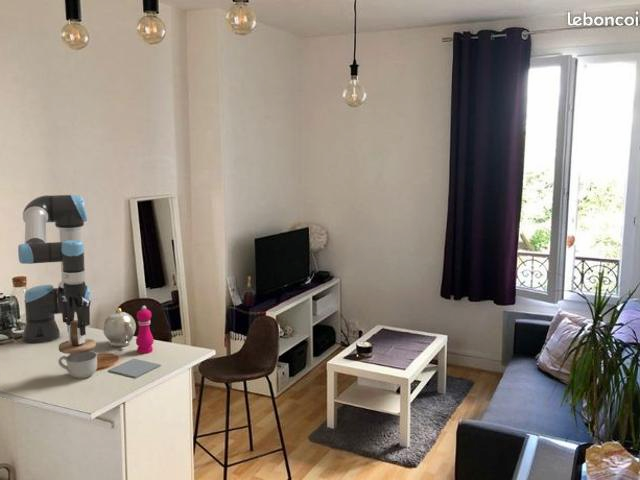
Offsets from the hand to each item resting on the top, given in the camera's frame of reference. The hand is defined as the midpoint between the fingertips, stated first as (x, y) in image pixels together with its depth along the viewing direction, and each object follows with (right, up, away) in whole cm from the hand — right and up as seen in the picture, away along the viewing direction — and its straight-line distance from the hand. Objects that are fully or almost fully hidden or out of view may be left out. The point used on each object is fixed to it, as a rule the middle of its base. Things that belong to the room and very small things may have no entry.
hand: (77, 341), depth 222 cm
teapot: (+5, -8, +36) cm, 37 cm away
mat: (+19, -12, +9) cm, 24 cm away
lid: (0, -2, 0) cm, 2 cm away
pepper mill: (+17, -9, +29) cm, 35 cm away
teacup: (0, -13, +2) cm, 13 cm away
